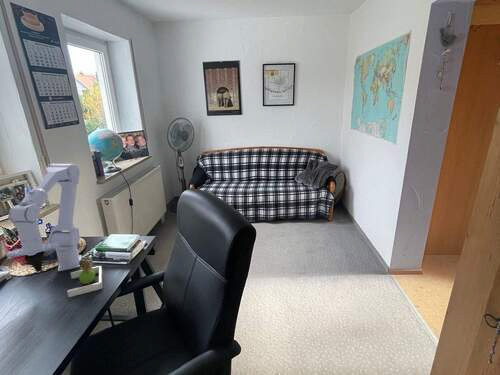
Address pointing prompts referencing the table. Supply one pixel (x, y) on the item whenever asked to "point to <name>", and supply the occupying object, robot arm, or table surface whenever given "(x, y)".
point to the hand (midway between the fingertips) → (39, 270)
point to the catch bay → (89, 287)
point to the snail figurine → (86, 271)
